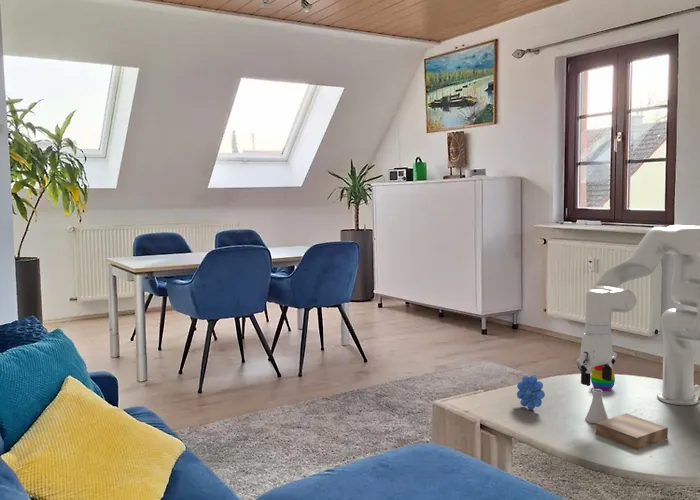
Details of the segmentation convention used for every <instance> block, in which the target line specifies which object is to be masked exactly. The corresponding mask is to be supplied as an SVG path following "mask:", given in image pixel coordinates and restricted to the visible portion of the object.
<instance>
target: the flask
mask: <svg viewBox="0 0 700 500" xmlns="http://www.w3.org/2000/svg"><path fill="white" fill-rule="evenodd" d="M591 391H592V398H591V399H592V400H591V403H590V406H589V409H588V412H587V413H586V416H585V419H584V420H585V421H586V422H588V423H589V424H594V425H596V422H600V421H603V420H606V419H609V416H608V413H607V411H606V408H605V405H604V401H603V393H604V391H603V390H601V389H595V388H593V389H592V390H591Z"/></svg>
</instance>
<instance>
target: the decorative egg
mask: <svg viewBox="0 0 700 500" xmlns="http://www.w3.org/2000/svg"><path fill="white" fill-rule="evenodd" d="M602 367H604V365H600V366H595V367H592V369H591V380H590V383H591V384H592V385H591V386H593V389H601V390H603V392H607V391H611V390H612V389H613V387H614V385H615V382H616V377H615V373H614V370H613V369H612V380H611V381H607V380H604V379H602Z"/></svg>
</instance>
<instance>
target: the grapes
mask: <svg viewBox="0 0 700 500" xmlns="http://www.w3.org/2000/svg"><path fill="white" fill-rule="evenodd" d="M543 388H544V383H543V382H542V381H539V380H538V378H537V376H536V375H530V376H529V375H524V376H523V377H522V379H521V381H519V382H518V383H517V388H516V389H518V391H517V393H516V397H517V399H519V400H520V403H519V404H520V405H521V406H522V407H526V408H527V409H528V410H530V411H532V410H534V409H535V408H539V407H541V406H542V403H543V401H542V400H543V399H544V398H545V396H546V393H545V392H544V390H542V389H543Z"/></svg>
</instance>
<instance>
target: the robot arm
mask: <svg viewBox="0 0 700 500" xmlns="http://www.w3.org/2000/svg"><path fill="white" fill-rule="evenodd" d="M668 254H669V255H671V256H672V259H673V272H672V277H671V284H670V290H669V291H670V293H669V294H670V295H669V296H670V297H669V298H670V299H671V301H672V302H673V303H675V304H678V305H682V306H686V307H692V308H696V311H695V310H694V311H693V310H690V309H684V308H677V307H675V308H674V307H673V308H669V309H668V308H667V309H666V310H665V311H664V312H663V313H662V315H661V317H660V328H661V334H662V341H663V342H662V343H663V344H662V345H663V346H662V348H663V350H662V351H663V352H662V353H663V354H662V390H661V391H658V393H657V395H656V397H657V399H658V400H659V401H661V402H663V403H667V404H670V405H674V406H675V405H677V406H695V405H696V404H698V403H699V398H698V396H696V395H695V392H696V391H697V392H698V391H700V385H699V384H695V383H694V375H695V347H694V344H693V341H695V342H699V343H700V225H687V224H685V225H684V224H673V225H671V224H670V225H668V226H666V227H665V226H657V227H656V226H655V227H652V228H650V229H649V230H648V231H647V232H646V233H645V234H644V236H643V238H642V239H641V240H640V242H638V245H636V247H635V248H634V250H633V251H632V253H631V254H630V256H629V257H628V258H626V259H625V260H623V261H621V262H618V264H616V265H614V266H613V267H611V268H610V269H609V268H608V270H606V271H605V272H604V273H603V274H602V275H601V276H600V277H599V279H598V280H597V282H596V283H595V284H594V286H593V288H592V289H588V290H587V291H586V293H585V294H586V295H585V318H584V319H585V322H584V326H585V327H584V333H583V334H582V338H581V342H580V343H581V344H580V352H579V357H578V358H577V359H575V360H576V364H577V368H578V369H579V372H580V384H582V385H584V386H587V387H590V386H591V373H592V372H591V371H592V369H593V368H594V367H595V366H600V365H604V367H602V379H604V380H607V381H611V380H612V370H613V369H614V364H615V363H616V359H617V356H618V353H617V352H615V351H614V350H613V339H612V313H629V312H631V311H633V310H634V308H635V307H636V305H637V296H636V295H635V293H634V292H633V291H631V290H630V289H626V288H624V287H623V288H622V287H620V286H621V285H622V284H624V283H627V282H630V281H634V280H638V279H641V278H642V279H643V278H645V277H648V276H650V275H652V274H653V273H654V271H655V270H656V268H657V267H658V265H659V264H660V263H661V262H662V260H663V259H664V257H665V256H666V255H668ZM590 372H591V373H590ZM694 384H695V385H694Z"/></svg>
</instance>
